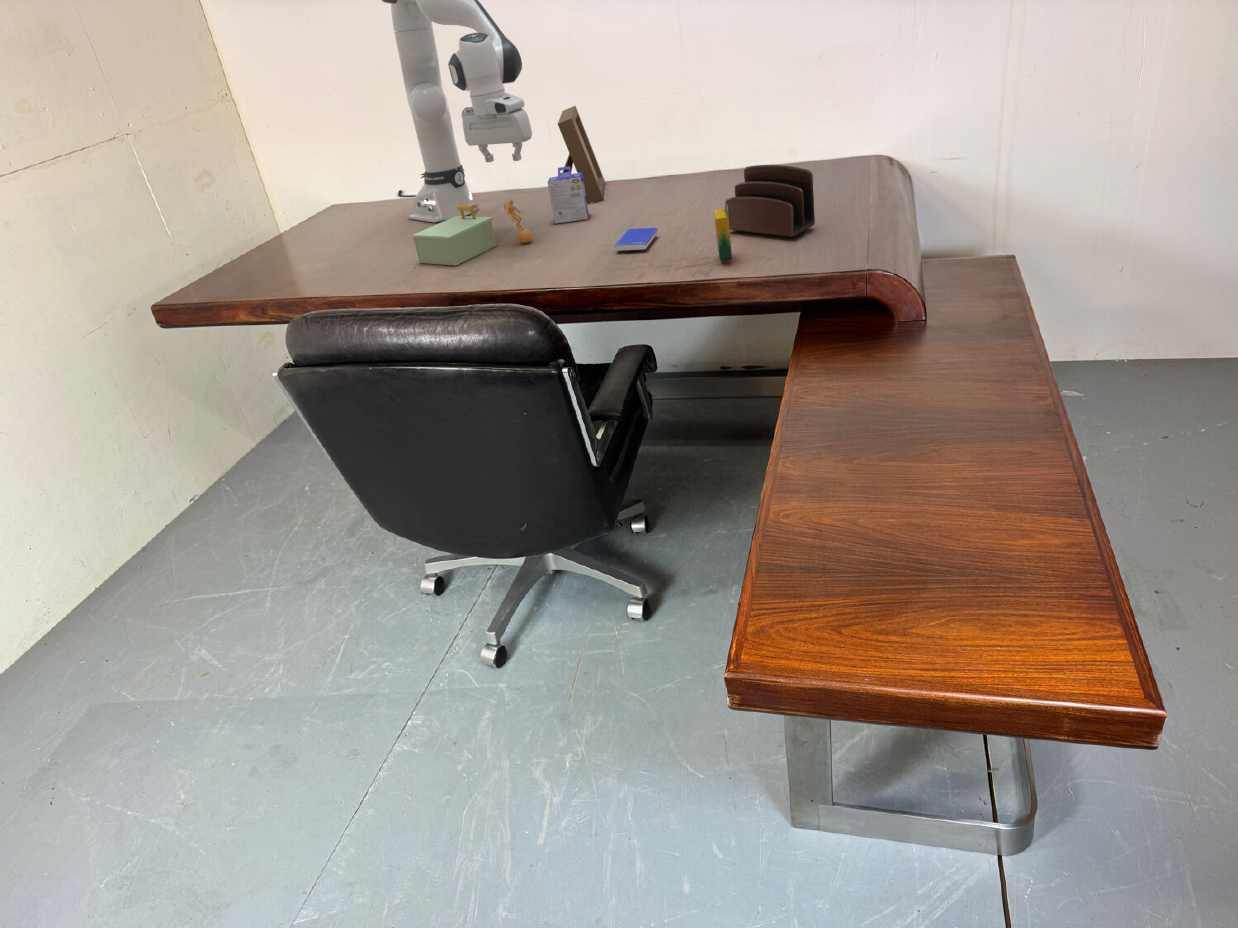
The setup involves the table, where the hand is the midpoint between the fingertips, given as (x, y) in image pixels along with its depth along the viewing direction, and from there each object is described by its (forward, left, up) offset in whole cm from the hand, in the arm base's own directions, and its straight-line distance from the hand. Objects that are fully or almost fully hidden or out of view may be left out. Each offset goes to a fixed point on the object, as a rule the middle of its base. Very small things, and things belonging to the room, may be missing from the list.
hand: (503, 161), depth 219 cm
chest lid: (-13, -11, -15) cm, 23 cm away
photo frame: (-11, +45, -22) cm, 51 cm away
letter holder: (+65, +20, -22) cm, 71 cm away
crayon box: (+63, -1, -22) cm, 67 cm away
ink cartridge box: (+2, +22, -22) cm, 31 cm away
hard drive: (+35, +5, -22) cm, 41 cm away
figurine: (+1, 0, -22) cm, 22 cm away
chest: (-13, -11, -22) cm, 28 cm away
